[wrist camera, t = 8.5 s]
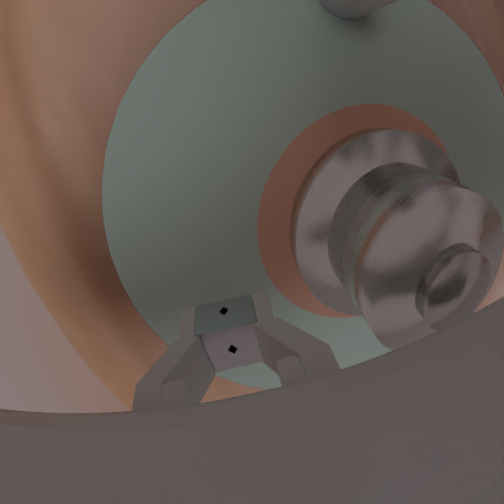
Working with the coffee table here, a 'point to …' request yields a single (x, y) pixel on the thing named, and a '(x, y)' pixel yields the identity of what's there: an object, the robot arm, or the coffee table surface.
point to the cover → (394, 235)
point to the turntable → (277, 147)
